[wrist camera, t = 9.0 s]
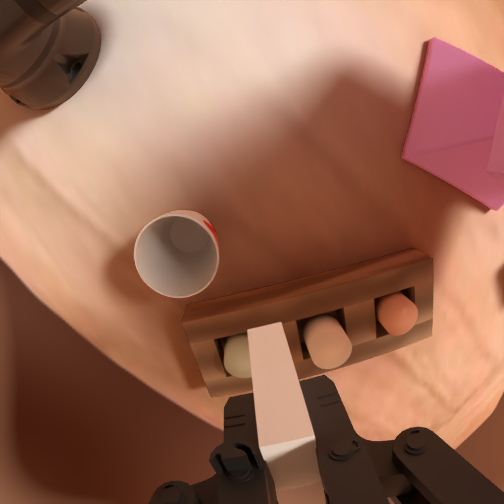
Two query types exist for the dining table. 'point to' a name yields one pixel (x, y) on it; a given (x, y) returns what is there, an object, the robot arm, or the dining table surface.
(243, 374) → the button sage
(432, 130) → the pink table lamp
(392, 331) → the button terracotta
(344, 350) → the peach rounded knob
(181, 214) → the cup
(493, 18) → the dining table surface
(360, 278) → the brown wooden long block
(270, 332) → the robot arm
